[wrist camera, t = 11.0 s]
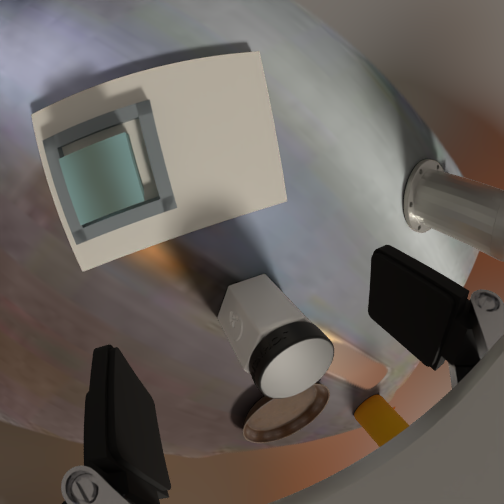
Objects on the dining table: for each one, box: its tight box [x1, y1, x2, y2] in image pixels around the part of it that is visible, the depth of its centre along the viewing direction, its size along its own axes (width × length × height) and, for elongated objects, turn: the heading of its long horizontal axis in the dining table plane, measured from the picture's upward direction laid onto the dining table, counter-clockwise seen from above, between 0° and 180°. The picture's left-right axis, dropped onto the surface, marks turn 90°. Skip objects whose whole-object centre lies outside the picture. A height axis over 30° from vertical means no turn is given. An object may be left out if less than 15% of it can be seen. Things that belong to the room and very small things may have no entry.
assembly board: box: [31, 51, 287, 271], centre depth 23 cm, size 22×16×3 cm
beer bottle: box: [354, 395, 409, 447], centre depth 50 cm, size 9×9×29 cm
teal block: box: [59, 132, 145, 225], centre depth 19 cm, size 5×5×6 cm
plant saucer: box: [243, 383, 330, 443], centre depth 45 cm, size 18×18×3 cm
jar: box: [217, 274, 334, 399], centre depth 29 cm, size 9×8×12 cm
